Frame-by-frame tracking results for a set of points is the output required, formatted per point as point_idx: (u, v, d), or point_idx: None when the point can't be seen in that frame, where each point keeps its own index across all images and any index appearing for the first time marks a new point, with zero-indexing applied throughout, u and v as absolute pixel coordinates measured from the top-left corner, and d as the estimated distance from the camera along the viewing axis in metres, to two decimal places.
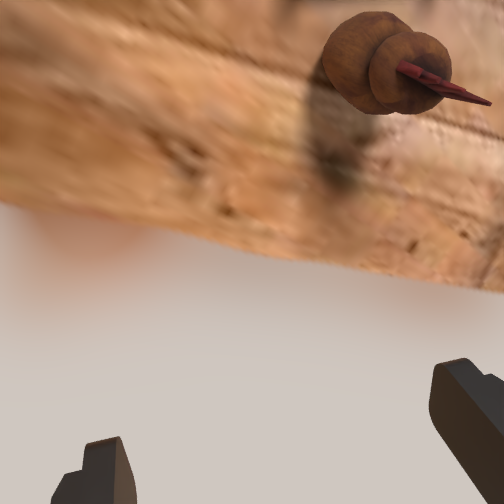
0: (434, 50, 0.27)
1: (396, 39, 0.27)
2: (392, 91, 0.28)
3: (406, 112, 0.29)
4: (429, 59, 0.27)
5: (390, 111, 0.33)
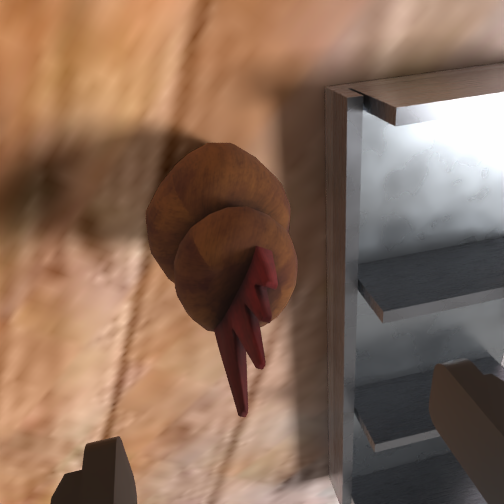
0: (283, 297, 0.17)
1: (289, 237, 0.18)
2: (220, 249, 0.16)
3: (183, 281, 0.17)
4: (272, 293, 0.17)
5: (161, 256, 0.20)
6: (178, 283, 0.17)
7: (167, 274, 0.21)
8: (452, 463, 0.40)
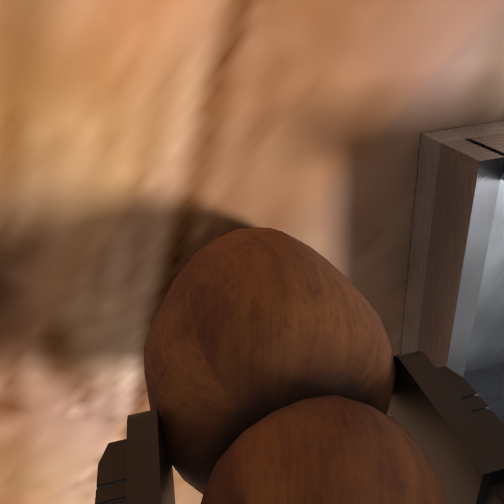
0: None
1: (437, 477, 0.09)
2: None
3: None
4: None
5: (171, 454, 0.11)
6: None
7: (182, 476, 0.12)
8: None
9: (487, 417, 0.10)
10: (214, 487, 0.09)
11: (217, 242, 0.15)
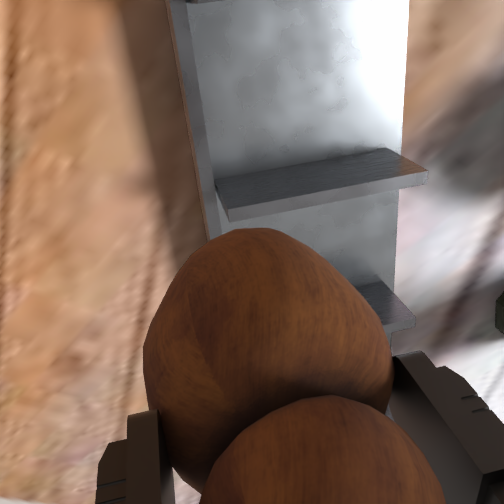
0: None
1: (435, 478, 0.09)
2: None
3: None
4: None
5: (170, 453, 0.11)
6: None
7: (180, 476, 0.12)
8: None
9: (487, 417, 0.10)
10: (212, 487, 0.09)
11: (216, 242, 0.15)
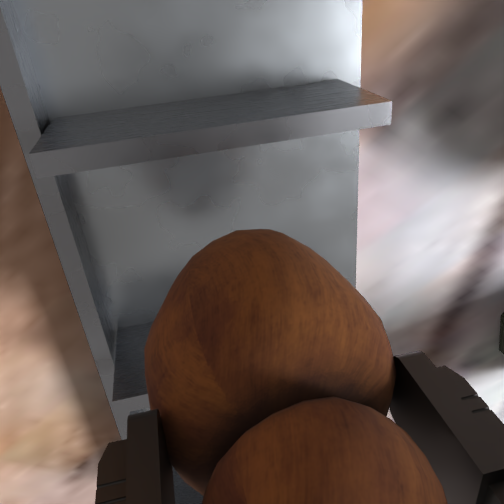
0: None
1: (437, 480, 0.09)
2: None
3: None
4: None
5: (172, 455, 0.11)
6: None
7: (182, 477, 0.12)
8: None
9: (487, 417, 0.10)
10: (214, 489, 0.09)
11: (217, 243, 0.15)
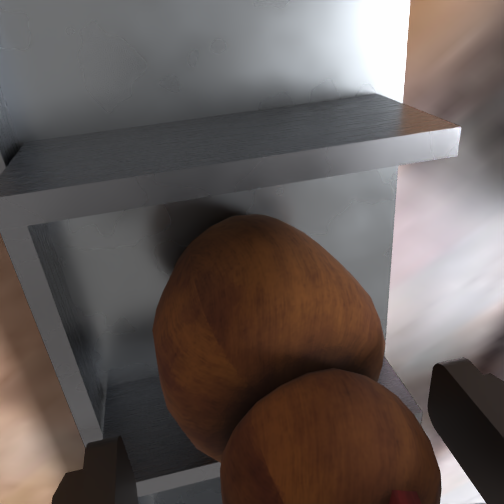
0: None
1: (425, 434, 0.10)
2: None
3: None
4: None
5: (186, 426, 0.13)
6: None
7: (195, 445, 0.13)
8: None
9: None
10: (234, 452, 0.10)
11: (216, 230, 0.16)
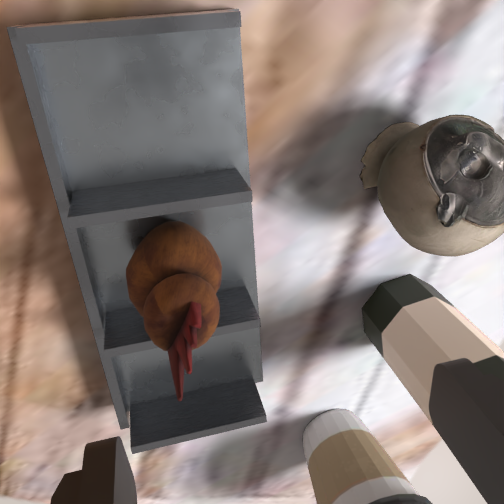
0: (209, 330, 0.29)
1: (214, 293, 0.29)
2: (170, 304, 0.27)
3: (148, 321, 0.28)
4: (202, 328, 0.28)
5: (135, 301, 0.32)
6: (145, 322, 0.28)
7: (140, 312, 0.32)
8: (230, 390, 0.45)
9: None
10: (147, 298, 0.29)
11: (157, 227, 0.35)
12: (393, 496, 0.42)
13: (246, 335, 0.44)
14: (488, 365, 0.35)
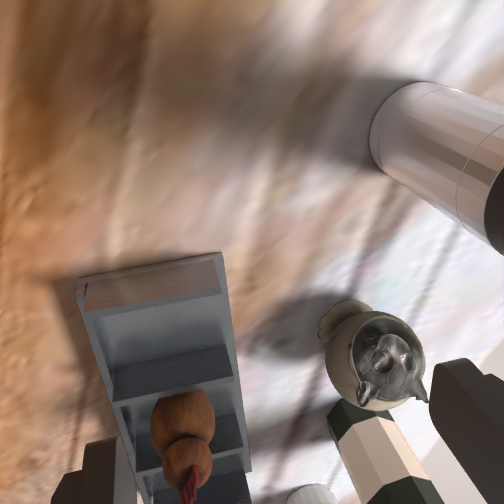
0: (205, 479, 0.44)
1: (208, 453, 0.44)
2: (179, 466, 0.43)
3: (165, 475, 0.44)
4: (200, 479, 0.44)
5: (157, 449, 0.47)
6: (164, 474, 0.44)
7: (160, 455, 0.48)
8: (226, 480, 0.61)
9: None
10: (164, 456, 0.45)
11: None
12: None
13: None
14: (403, 484, 0.50)
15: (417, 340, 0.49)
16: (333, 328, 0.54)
